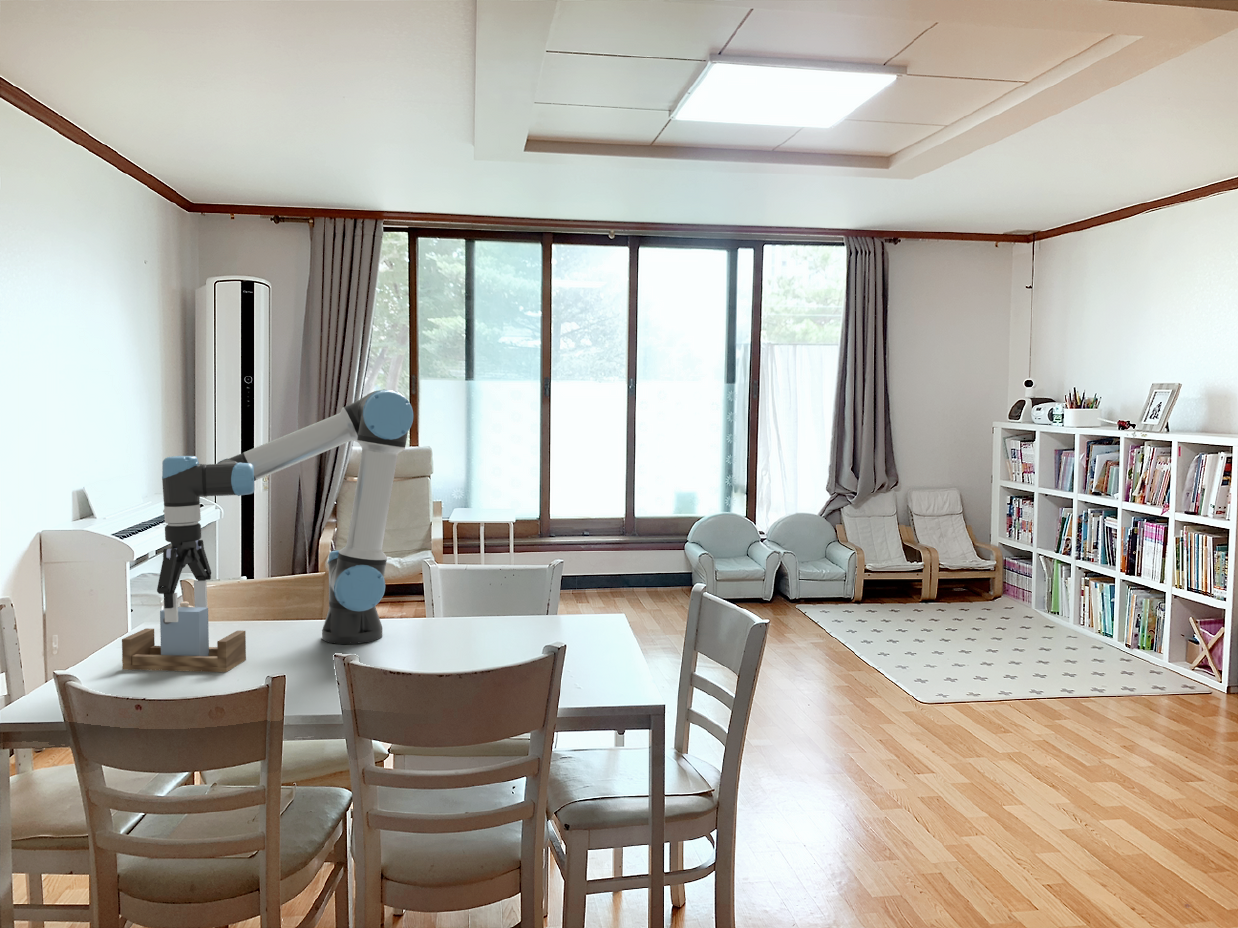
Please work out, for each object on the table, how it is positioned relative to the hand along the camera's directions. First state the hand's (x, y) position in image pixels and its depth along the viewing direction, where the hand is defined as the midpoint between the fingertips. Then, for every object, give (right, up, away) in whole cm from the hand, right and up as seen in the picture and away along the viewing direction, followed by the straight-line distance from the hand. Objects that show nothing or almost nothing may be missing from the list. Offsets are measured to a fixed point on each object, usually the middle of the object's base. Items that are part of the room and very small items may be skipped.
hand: (186, 614), depth 216 cm
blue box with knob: (-1, -11, +1) cm, 11 cm away
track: (-1, -12, +1) cm, 12 cm away
